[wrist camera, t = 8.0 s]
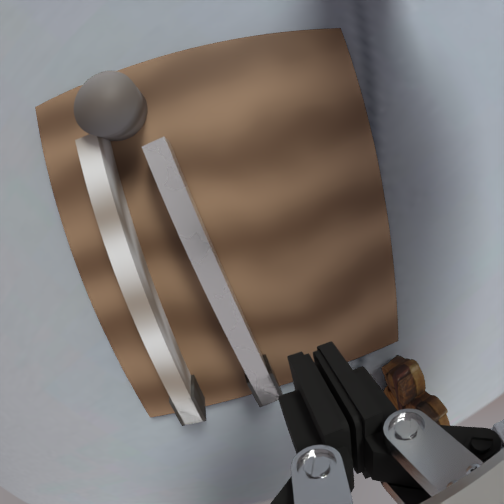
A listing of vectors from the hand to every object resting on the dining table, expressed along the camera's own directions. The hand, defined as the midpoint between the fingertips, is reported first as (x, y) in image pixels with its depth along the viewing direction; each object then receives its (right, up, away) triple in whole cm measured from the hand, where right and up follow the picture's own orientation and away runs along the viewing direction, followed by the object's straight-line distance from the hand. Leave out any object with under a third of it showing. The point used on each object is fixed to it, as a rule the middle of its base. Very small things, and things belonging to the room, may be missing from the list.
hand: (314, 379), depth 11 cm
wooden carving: (+15, -12, +23) cm, 30 cm away
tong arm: (-5, +3, +14) cm, 15 cm away
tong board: (-4, +6, +15) cm, 16 cm away
